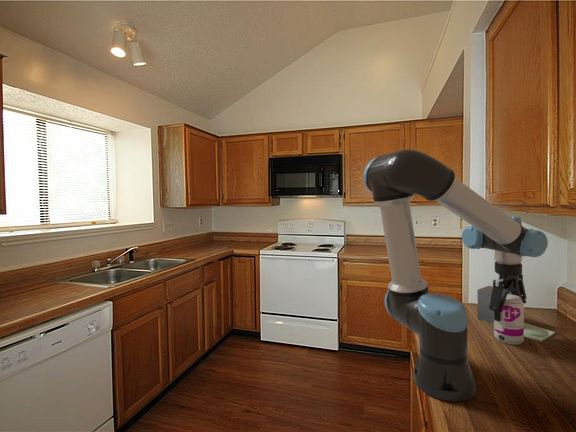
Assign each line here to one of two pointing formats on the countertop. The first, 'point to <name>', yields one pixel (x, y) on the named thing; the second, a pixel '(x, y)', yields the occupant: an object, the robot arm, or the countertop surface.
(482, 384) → the countertop surface
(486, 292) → the box
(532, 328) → the pad
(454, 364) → the robot arm
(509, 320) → the supplement can
